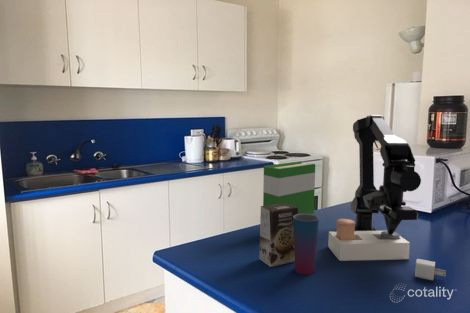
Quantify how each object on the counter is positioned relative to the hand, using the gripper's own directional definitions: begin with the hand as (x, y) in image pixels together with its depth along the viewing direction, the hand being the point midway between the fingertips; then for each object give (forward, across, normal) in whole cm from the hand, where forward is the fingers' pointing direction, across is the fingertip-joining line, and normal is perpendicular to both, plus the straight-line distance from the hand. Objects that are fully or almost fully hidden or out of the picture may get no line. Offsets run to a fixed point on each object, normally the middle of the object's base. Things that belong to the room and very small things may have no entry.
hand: (390, 233), depth 113 cm
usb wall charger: (+6, +17, +3) cm, 18 cm away
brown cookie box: (+6, +4, -35) cm, 36 cm away
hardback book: (+6, -20, -27) cm, 34 cm away
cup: (+6, +11, -29) cm, 32 cm away
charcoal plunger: (+5, 0, 0) cm, 5 cm away
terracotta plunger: (+1, 0, -14) cm, 14 cm away
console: (+6, 0, -7) cm, 9 cm away
